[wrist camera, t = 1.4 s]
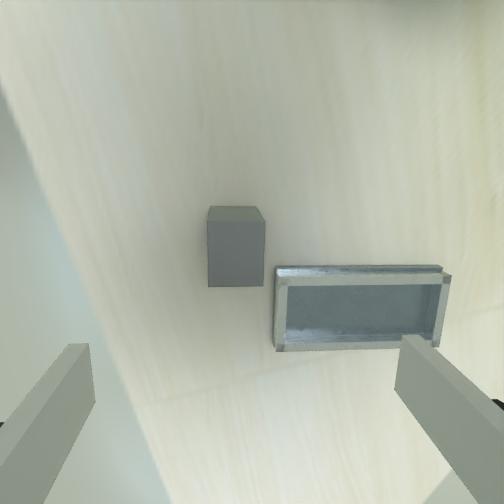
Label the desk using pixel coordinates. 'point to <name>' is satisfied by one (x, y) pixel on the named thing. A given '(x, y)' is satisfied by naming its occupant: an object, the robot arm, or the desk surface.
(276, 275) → the shallow grey tray
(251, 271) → the block
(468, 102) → the desk surface
